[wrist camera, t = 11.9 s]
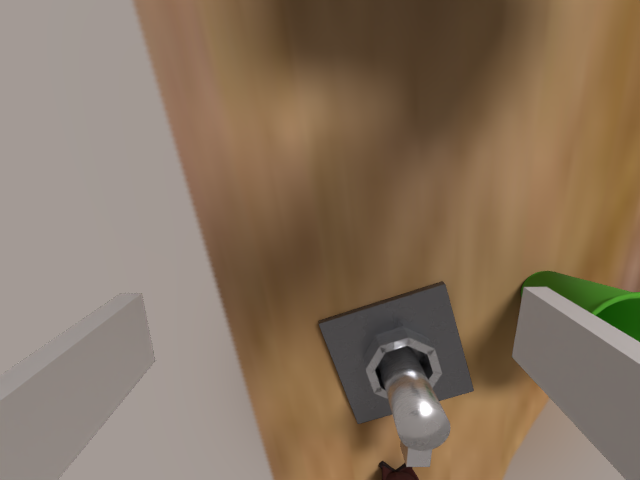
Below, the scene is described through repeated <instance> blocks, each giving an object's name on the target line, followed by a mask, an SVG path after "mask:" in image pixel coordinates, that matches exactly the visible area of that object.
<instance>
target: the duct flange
mask: <svg viewBox="0 0 640 480" xmlns="http://www.w3.org/2000/svg"><path fill="white" fill-rule="evenodd" d="M319 326H320V329H321V331H322V334H323V336H324V339H325V341H326V344H327V347H328V349H329V352H330V354H331V357H332V359H333V362H334V364H335V367H336V370H337V372H338V375H339V377H340V380H341V382H342V385H343V387H344V390H345V392H346V395H347V398H348V400H349V403H350V405H351V408H352V410H353V413H354V415H355V418H356V420H357V423H358V424H360V423H363V422H367V421H370V420H374V419H377V418H381V417H385V416H388V415H392V411H391V408H390V404H389V401H388V397H387V394H386V391H385V387H384V384H383V380H382V377H381V374H380V370H379V362H380V361H381V359H382V357H383V356H384V354H385V352H389V351H392V350H395V349H399V348H402V347H406V348H408V349H410V350H411V351H413V352H414V353H415V355H416V357H417V359H418V361H419V363H420V365H421V367H422V369H423V371H424V373H425V375H426V377H427V379H428V381H429V383H430V385H431V387H432V389H433V391H434V393H435V394H436V396H437V398H438V400H439V401H441V400H444V399H448V398H451V397H455V396H458V395H462V394H465V393H469V392H472V391H474V389H473V386H472V382H471V378H470V374H469V371H468V367H467V363H466V360H465V356H464V352H463V348H462V345H461V341H460V337H459V333H458V330H457V326H456V322H455V319H454V315H453V311H452V307H451V304H450V300H449V296H448V292H447V289H446V285H445V283H444V282H443V281H442V282H439V283H436V284H433V285H430V286H427V287H423V288H420V289H417V290H414V291H411V292H408V293H405V294H401V295H398V296H395V297H392V298H389V299H386V300H383V301H379V302H376V303H373V304H370V305H367V306H364V307H361V308H357V309H354V310H351V311H348V312H345V313H342V314H339V315H335V316H332V317H329V318H326V319H323V320H320V321H319Z"/></svg>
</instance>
